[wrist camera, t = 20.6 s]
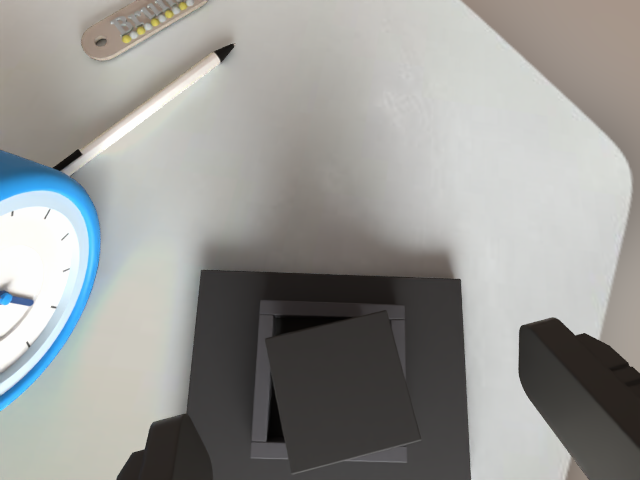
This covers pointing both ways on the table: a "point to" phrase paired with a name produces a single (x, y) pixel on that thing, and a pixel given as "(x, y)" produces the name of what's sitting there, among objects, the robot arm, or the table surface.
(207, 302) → the base pad
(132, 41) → the keychain
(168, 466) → the robot arm
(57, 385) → the table surface
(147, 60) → the table surface
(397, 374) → the pad block
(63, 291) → the alarm clock
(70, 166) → the pen
